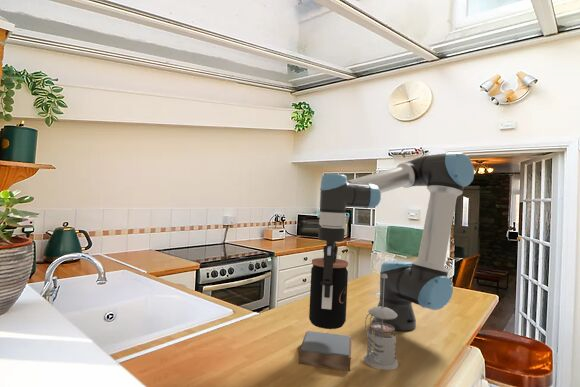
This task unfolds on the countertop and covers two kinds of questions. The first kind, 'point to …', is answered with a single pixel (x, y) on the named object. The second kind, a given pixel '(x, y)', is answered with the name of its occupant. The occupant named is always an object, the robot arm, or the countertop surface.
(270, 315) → the countertop surface
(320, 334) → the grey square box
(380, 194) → the robot arm
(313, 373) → the countertop surface
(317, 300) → the coffee jar
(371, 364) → the glass coffee plunger
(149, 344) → the countertop surface
